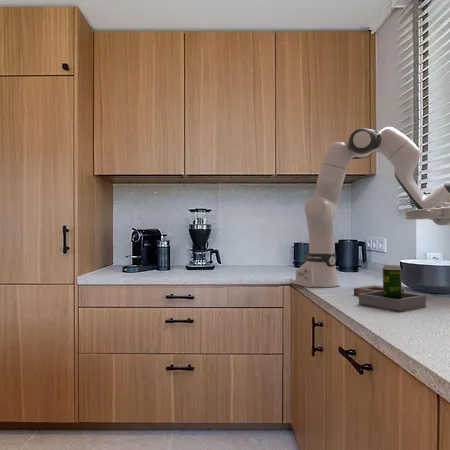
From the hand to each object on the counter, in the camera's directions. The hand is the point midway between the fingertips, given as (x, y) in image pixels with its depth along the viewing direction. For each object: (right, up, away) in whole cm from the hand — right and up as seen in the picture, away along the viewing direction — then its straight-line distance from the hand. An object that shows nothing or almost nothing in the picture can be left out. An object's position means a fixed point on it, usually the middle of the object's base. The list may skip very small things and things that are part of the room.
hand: (417, 213), depth 136 cm
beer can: (-17, -29, -18) cm, 38 cm away
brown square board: (-14, -30, +1) cm, 33 cm away
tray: (-17, -30, -18) cm, 39 cm away
